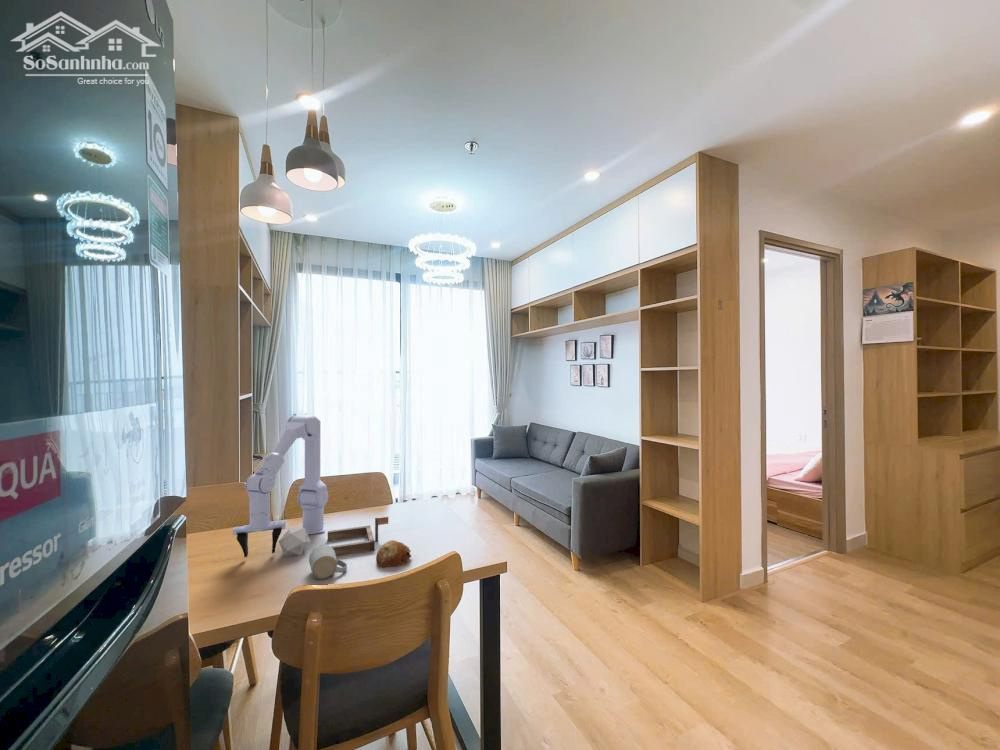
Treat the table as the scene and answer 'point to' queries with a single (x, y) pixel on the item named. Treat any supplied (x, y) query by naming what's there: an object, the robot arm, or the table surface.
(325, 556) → the ceramic mug
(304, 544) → the die
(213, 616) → the table surface
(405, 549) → the bread roll
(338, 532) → the wooden tray
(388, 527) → the table surface
